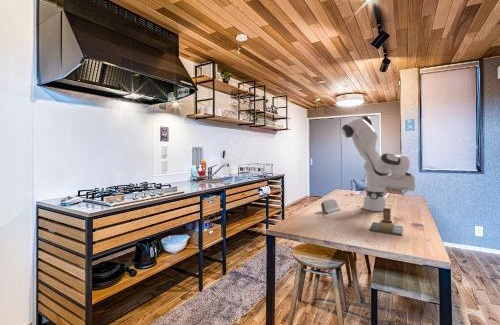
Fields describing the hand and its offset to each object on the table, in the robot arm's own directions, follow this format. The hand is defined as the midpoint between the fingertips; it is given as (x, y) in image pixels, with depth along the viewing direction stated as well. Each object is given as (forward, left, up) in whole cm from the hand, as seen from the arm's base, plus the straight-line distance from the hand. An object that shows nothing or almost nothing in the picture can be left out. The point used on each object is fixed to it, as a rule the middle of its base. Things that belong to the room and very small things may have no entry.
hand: (393, 193), depth 158 cm
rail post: (+12, -2, -18) cm, 22 cm away
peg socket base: (+12, -2, -19) cm, 23 cm away
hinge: (-14, -41, -19) cm, 48 cm away
